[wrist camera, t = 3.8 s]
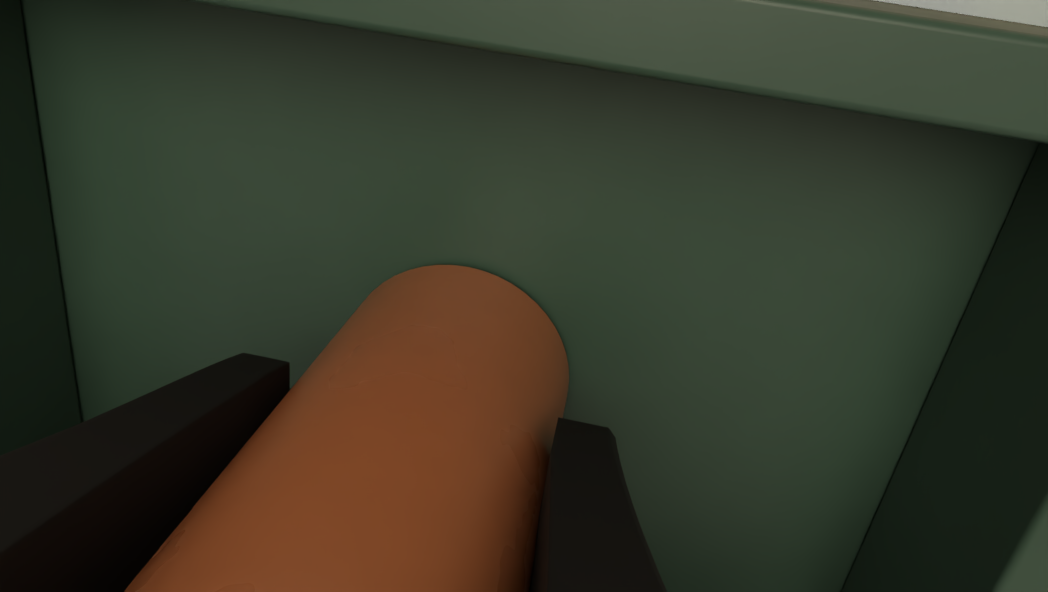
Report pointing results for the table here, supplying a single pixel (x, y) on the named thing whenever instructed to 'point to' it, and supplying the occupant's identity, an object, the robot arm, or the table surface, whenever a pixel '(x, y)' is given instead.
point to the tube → (391, 454)
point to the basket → (579, 242)
